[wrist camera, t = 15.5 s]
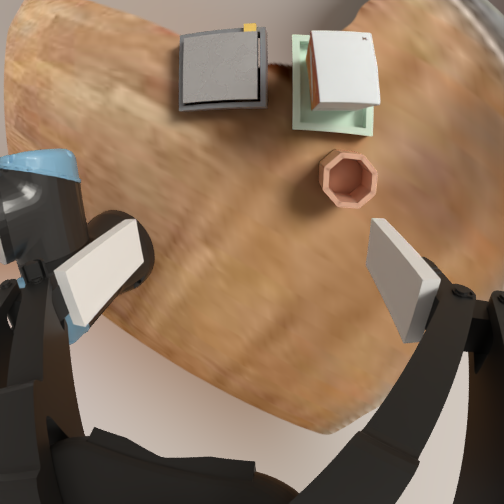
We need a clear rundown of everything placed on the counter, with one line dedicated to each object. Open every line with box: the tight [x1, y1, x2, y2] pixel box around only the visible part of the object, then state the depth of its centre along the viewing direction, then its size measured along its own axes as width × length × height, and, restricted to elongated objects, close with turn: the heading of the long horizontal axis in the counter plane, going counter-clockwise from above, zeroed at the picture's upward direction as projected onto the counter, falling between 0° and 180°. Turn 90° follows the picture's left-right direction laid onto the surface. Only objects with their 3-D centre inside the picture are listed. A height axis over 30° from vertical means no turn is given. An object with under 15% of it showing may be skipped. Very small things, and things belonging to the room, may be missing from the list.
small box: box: [305, 31, 380, 111], centre depth 27 cm, size 8×6×13 cm
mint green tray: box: [292, 35, 373, 136], centre depth 33 cm, size 11×14×2 cm
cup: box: [319, 149, 378, 208], centre depth 36 cm, size 7×7×6 cm
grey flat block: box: [179, 23, 268, 112], centre depth 33 cm, size 12×12×4 cm
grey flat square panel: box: [183, 31, 258, 104], centre depth 31 cm, size 10×10×1 cm
